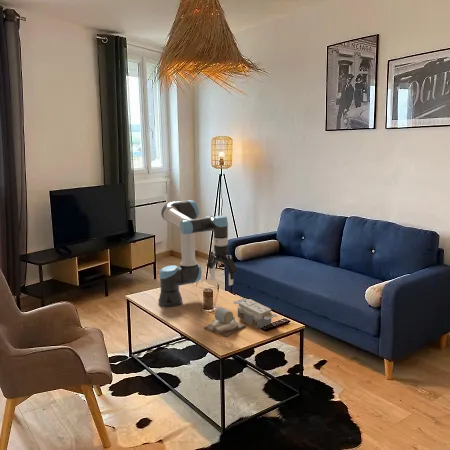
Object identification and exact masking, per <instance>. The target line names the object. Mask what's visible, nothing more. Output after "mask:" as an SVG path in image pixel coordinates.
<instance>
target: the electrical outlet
mask: <svg viewBox="0 0 450 450" xmlns="http://www.w3.org/2000/svg"><path fill="white" fill-rule="evenodd" d="M232 303H233V304H235V305H237V304H238V307H237V318H239V319H240V320H242V321H243V322H244V323H246V324H247V325H249V326H252V327H255V328H256V329H262V328H265V327H267V325H268V326H270V325H271V323H272V318H274V317H275V318H276V317H278V315H277V314H276V313H273V312H272V309H271V308H270V307H267V306H266V305H264V304H261V303H259V302H257V301H255V300H253V299H251V298H249V299H245V298H241V299H240V300H238V299H237V301H235V300H234V301H233V302H232ZM272 313H273V314H272ZM269 324H270V325H269ZM264 326H265V327H264Z"/></svg>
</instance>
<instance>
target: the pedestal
mask: <svg viewBox="0 0 450 450" xmlns="http://www.w3.org/2000/svg"><path fill="white" fill-rule="evenodd" d="M203 328H204V330H206V331H208V332H211V333H214V334H216V335H220V336H223V337H226V338H227V337H229V336H231V335H233V334H235V333H237V332H239V331H240V330H242V329H244V328H246V324H243V323H240V322H239V321H238V320H237V319H236V318H235V319H234V320H232V321H231V322H230V323H228V324H226V323H223V322H220V321H218V320H216V319H215V318H214V319H213V320H212V321H211V323H210V324H207V325H206V326H204V327H203Z"/></svg>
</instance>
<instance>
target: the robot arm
mask: <svg viewBox="0 0 450 450" xmlns="http://www.w3.org/2000/svg"><path fill="white" fill-rule="evenodd" d="M199 210H200V209H199V206H198V203H196V201H195V200H191V199H185V200H177V201H169V202H168V203H166V204H164V206H162V208H161V217H162V219H163V220H164V221H166V222H168V223H172V224H174V225H175V226H177V227H179V230H180V249H181V261H180V263H179V267H178V266H177V265H167V266H164V267H163V268H161V269H159V270H160V271H159V283H160V284H159V285H160V287H159V289H160V293H159V297H158V305H159V306H160V307H165V308H169V307H170V308H173V307H177V306H179V305H181V304H182V303H183V297H182V294H181V292H180V287H181V286H185V285H191V284H194V283H195V284H196V283H199V282H200V281H201V279H202V271H203V270H202V267H201V264H199V263H198V261H197V260H196V247H195V246H196V245H195V234H196V233H197V234H198V233H205V232H213V244H214V245H213V251H210V253H209V254H210V256H209V258H208V261H207V264H206V267H207V268H209V274H210V281H213V280H216V274H215V273H216V271H215V270H216V269H215V266H216V264H217V263H218V262H221V263H223V265H225V267H226V269H227V270H228V286H232V285H234V278H235V274H236V273H238V270H237V268H236V265H235V261H234V260H233V255H232V254H230V255H229V254H228V251H229V239H228V238H229V237H228V235H229V233H228V231H229V229H228V228H229V222H228V216H225V215H216V216H212V215H207V216H205V217H201V218H199V217H200V216H199V215H200V211H199Z"/></svg>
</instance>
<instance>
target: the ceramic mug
mask: <svg viewBox="0 0 450 450" xmlns="http://www.w3.org/2000/svg"><path fill="white" fill-rule="evenodd" d="M214 319H216V320H218V321H220V322H223V323H226V324H228V323H230V322H231V321H232V320H234V319H236V318H235V316H234V314H233V312H232V311H231V310H229V309H226V308H225V307H223V306H219V307H218V308H217V309H216V310H215V312H214Z"/></svg>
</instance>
